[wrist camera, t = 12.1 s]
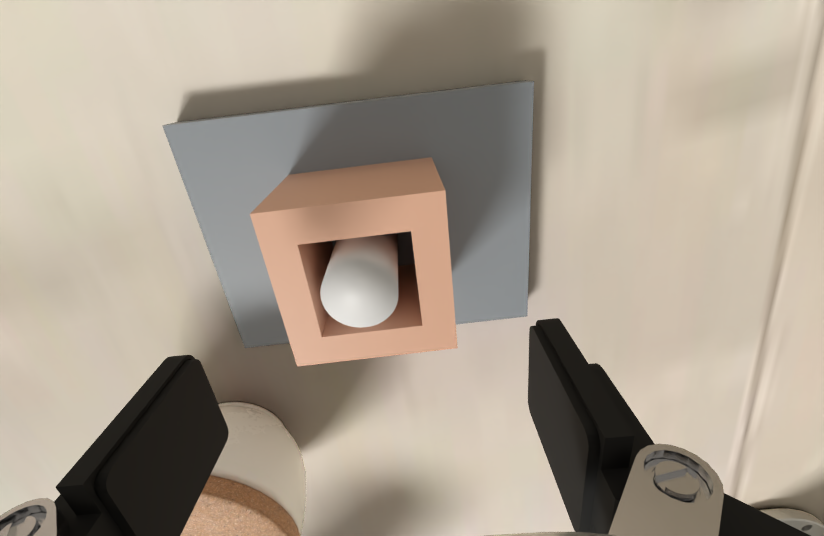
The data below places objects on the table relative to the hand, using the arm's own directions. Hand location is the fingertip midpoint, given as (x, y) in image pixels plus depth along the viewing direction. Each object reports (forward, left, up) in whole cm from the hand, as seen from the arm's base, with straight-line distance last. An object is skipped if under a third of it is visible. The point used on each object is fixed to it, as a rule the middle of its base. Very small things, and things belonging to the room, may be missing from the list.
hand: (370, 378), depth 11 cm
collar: (0, -1, -10) cm, 10 cm away
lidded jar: (+12, +13, -11) cm, 21 cm away
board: (+1, -1, -11) cm, 11 cm away
